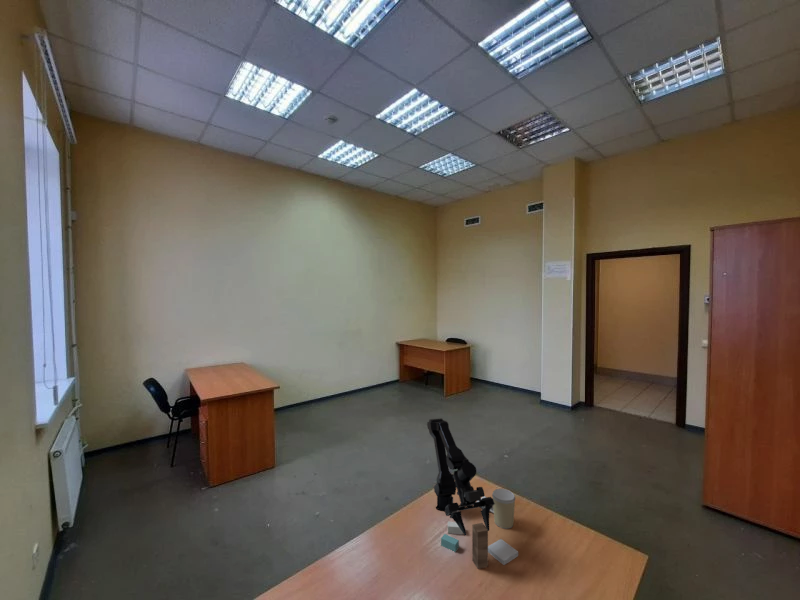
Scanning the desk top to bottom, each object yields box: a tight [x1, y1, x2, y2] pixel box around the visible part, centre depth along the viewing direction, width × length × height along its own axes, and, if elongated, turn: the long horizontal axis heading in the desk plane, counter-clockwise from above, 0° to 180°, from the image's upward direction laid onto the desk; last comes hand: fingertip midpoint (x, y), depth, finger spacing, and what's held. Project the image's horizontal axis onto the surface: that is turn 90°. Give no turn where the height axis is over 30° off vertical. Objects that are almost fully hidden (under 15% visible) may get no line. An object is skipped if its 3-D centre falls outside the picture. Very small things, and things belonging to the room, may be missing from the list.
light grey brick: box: [447, 521, 464, 535], centre depth 135 cm, size 6×3×3 cm, turn 83°
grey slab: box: [488, 538, 519, 566], centre depth 123 cm, size 8×8×2 cm
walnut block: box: [471, 522, 489, 570], centre depth 118 cm, size 4×4×13 cm
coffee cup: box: [491, 488, 516, 530], centre depth 140 cm, size 9×9×12 cm
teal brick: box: [440, 533, 460, 553], centre depth 127 cm, size 6×3×3 cm, turn 55°
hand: (477, 532), depth 121 cm, fingers open, 9 cm apart
